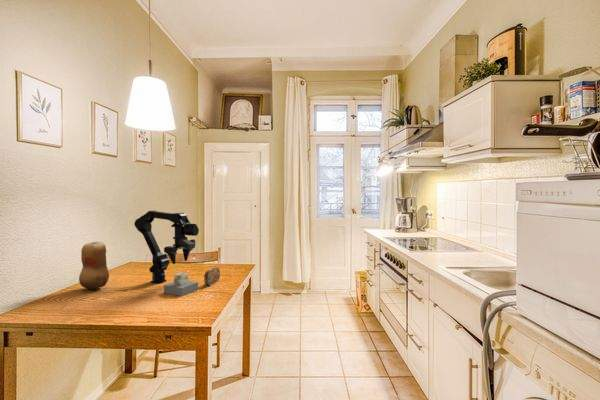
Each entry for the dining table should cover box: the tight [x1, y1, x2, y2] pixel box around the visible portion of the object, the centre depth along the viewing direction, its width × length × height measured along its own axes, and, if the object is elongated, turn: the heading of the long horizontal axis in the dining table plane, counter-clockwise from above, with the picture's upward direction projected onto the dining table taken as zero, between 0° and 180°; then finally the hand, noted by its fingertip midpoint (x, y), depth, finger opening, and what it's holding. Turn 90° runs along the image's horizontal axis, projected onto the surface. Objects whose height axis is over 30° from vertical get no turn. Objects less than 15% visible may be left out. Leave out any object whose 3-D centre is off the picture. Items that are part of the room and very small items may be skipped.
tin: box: [203, 267, 221, 286], centre depth 189 cm, size 15×3×8 cm, turn 168°
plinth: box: [163, 280, 199, 297], centre depth 174 cm, size 12×12×4 cm
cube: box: [173, 272, 189, 285], centre depth 173 cm, size 5×5×5 cm
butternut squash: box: [78, 241, 110, 291], centre depth 176 cm, size 14×13×25 cm
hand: (180, 262), depth 188 cm, fingers open, 9 cm apart
